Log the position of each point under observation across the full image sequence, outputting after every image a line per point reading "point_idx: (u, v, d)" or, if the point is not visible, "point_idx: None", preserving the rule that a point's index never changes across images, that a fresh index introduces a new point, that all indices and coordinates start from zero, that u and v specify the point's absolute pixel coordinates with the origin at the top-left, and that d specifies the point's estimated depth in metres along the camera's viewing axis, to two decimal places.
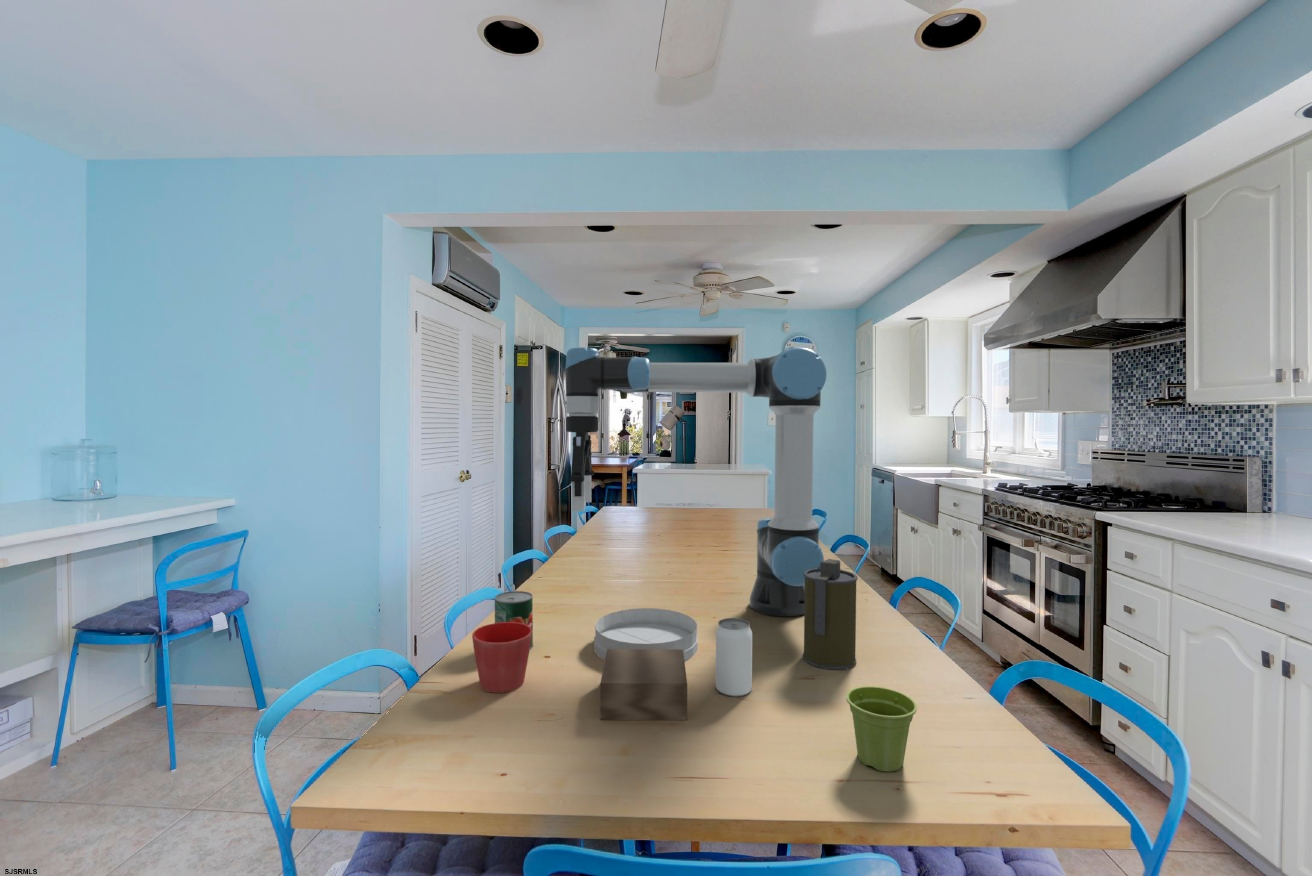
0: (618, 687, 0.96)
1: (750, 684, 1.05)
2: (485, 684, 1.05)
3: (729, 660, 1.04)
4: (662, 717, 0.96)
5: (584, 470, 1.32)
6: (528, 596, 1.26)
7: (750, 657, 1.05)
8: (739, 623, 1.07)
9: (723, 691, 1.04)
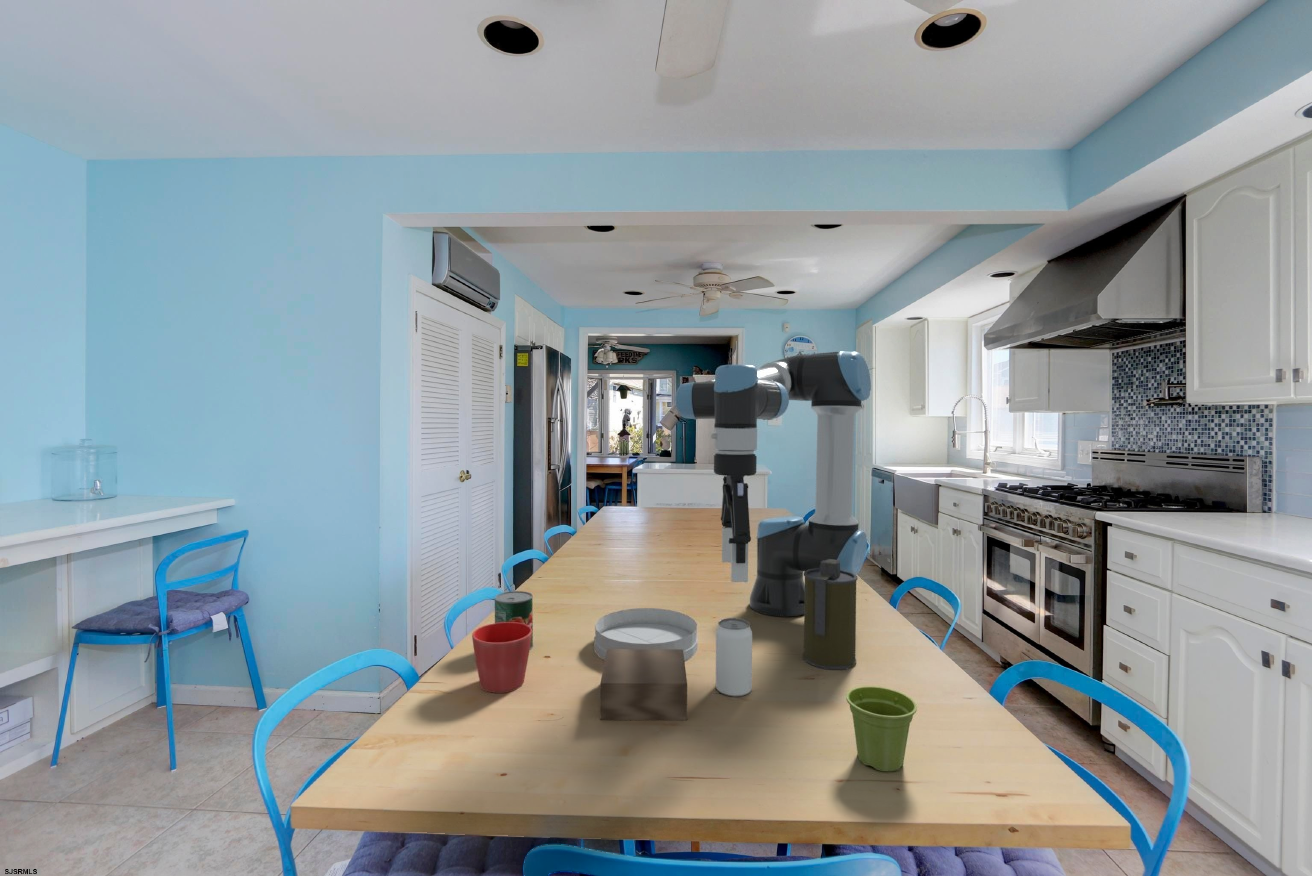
0: (618, 687, 0.96)
1: (750, 684, 1.05)
2: (485, 684, 1.05)
3: (729, 660, 1.04)
4: (662, 717, 0.96)
5: None
6: (528, 596, 1.26)
7: (750, 657, 1.05)
8: (739, 623, 1.07)
9: (723, 691, 1.04)
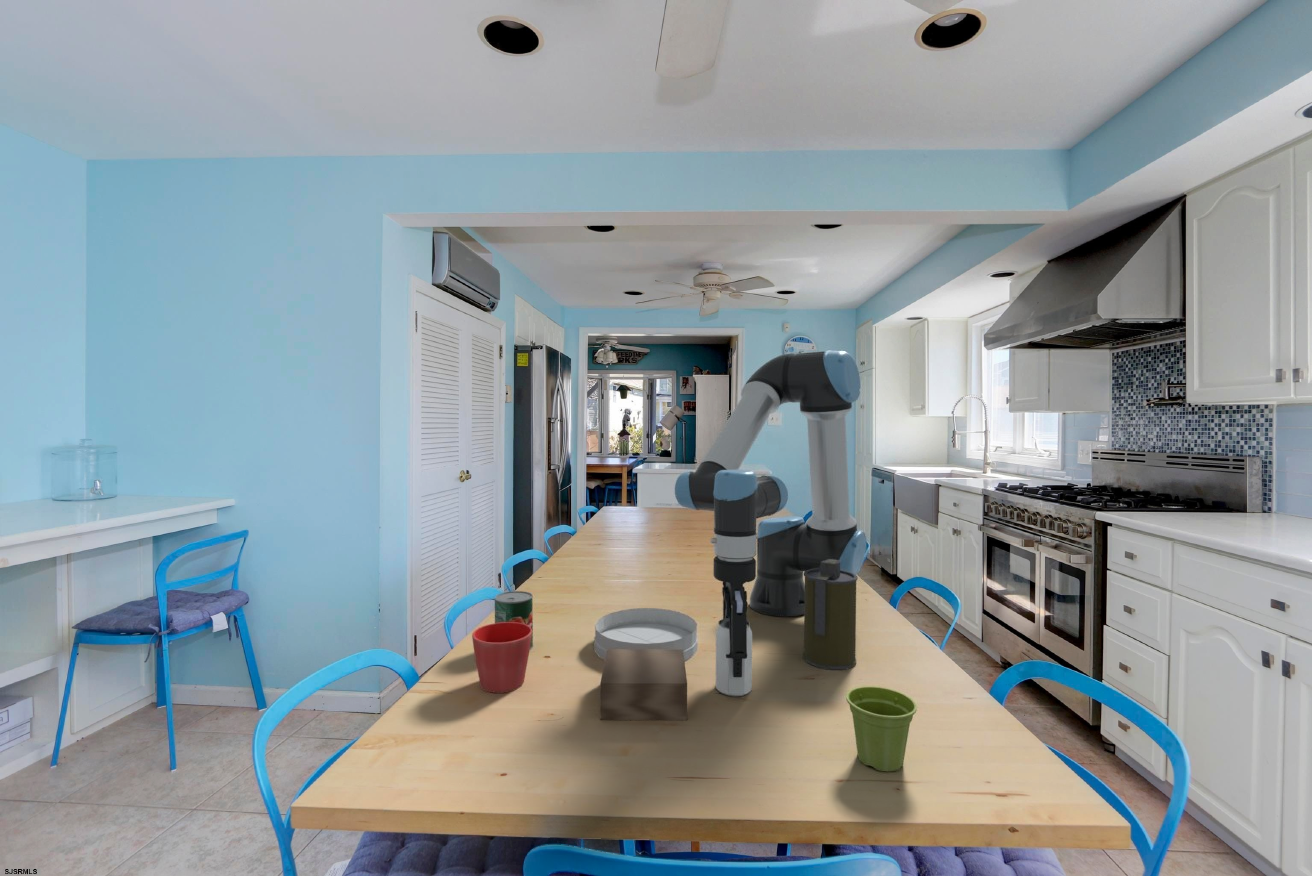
0: (618, 687, 0.96)
1: (750, 684, 1.05)
2: (485, 684, 1.05)
3: None
4: (662, 717, 0.96)
5: None
6: (528, 596, 1.26)
7: (750, 657, 1.05)
8: None
9: (723, 691, 1.04)
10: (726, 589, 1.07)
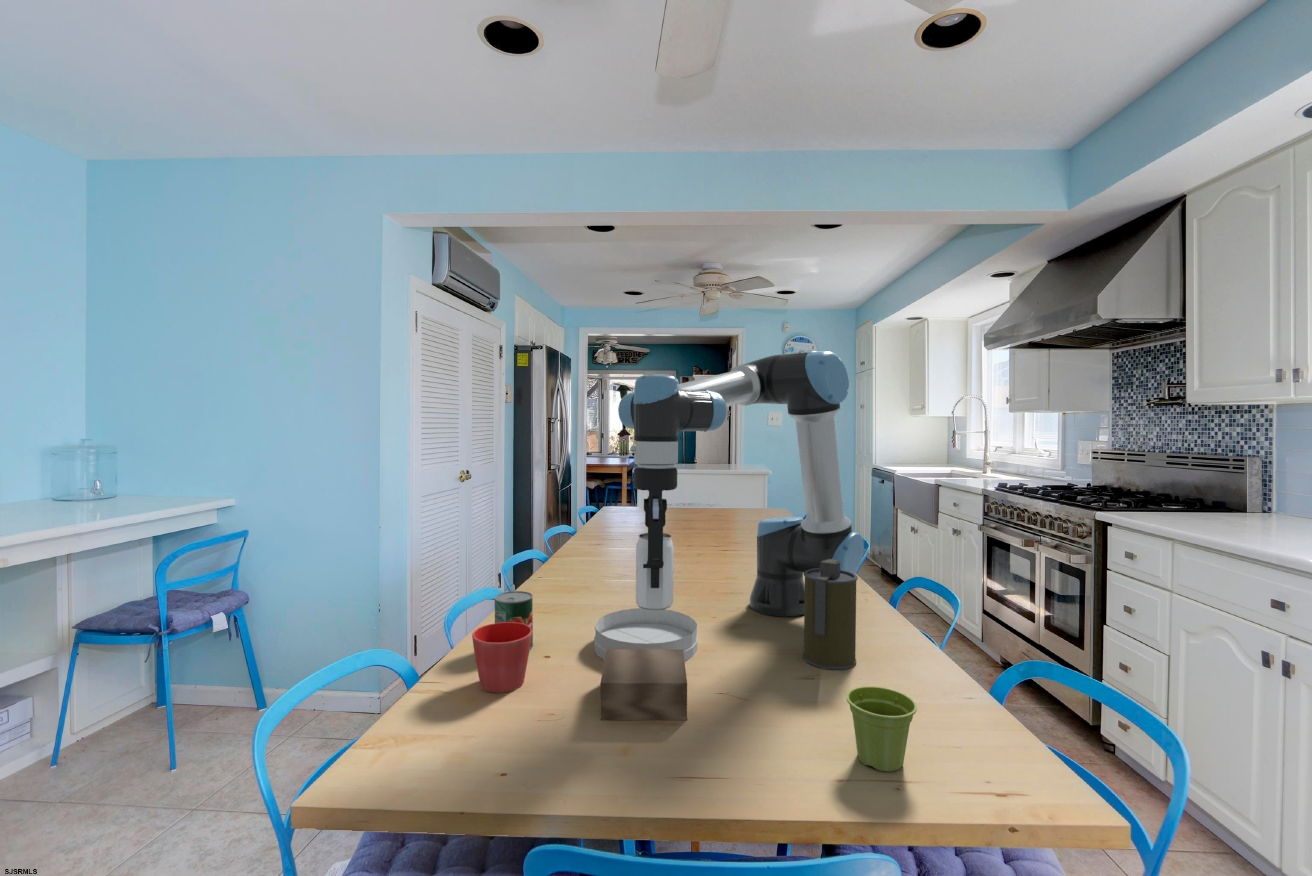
0: (618, 687, 0.96)
1: (670, 598, 1.01)
2: (485, 684, 1.05)
3: None
4: (662, 717, 0.96)
5: None
6: (528, 596, 1.26)
7: (670, 570, 1.00)
8: None
9: (642, 605, 1.00)
10: (647, 501, 1.03)
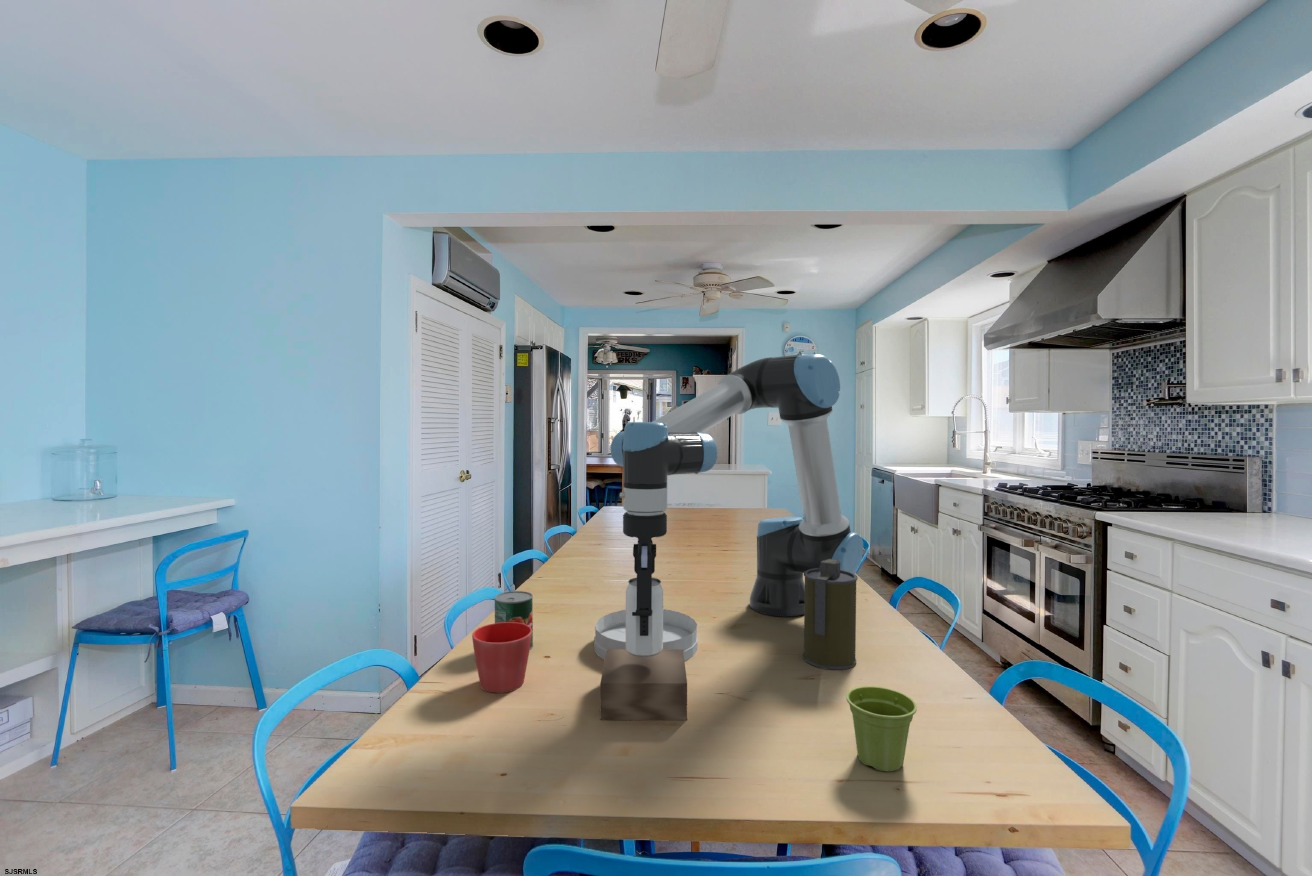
0: (618, 687, 0.96)
1: (660, 644, 1.01)
2: (485, 684, 1.05)
3: None
4: (662, 717, 0.96)
5: None
6: (528, 596, 1.26)
7: (660, 616, 1.00)
8: None
9: (631, 651, 1.00)
10: (637, 546, 1.03)
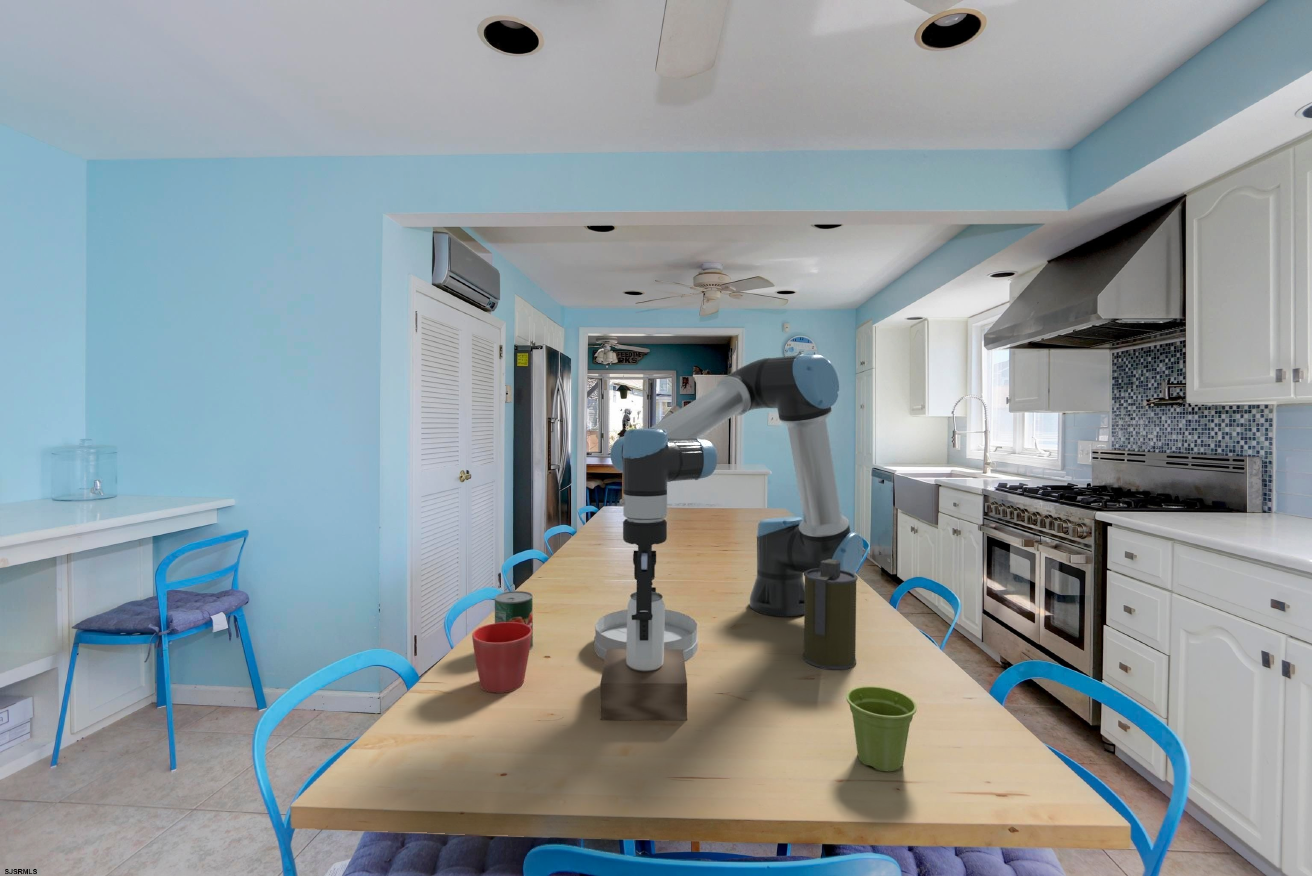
0: (618, 687, 0.96)
1: (661, 659, 1.01)
2: (485, 684, 1.05)
3: None
4: (662, 717, 0.96)
5: None
6: (528, 596, 1.26)
7: (661, 631, 1.01)
8: (652, 596, 1.03)
9: (632, 666, 1.00)
10: (637, 554, 1.03)
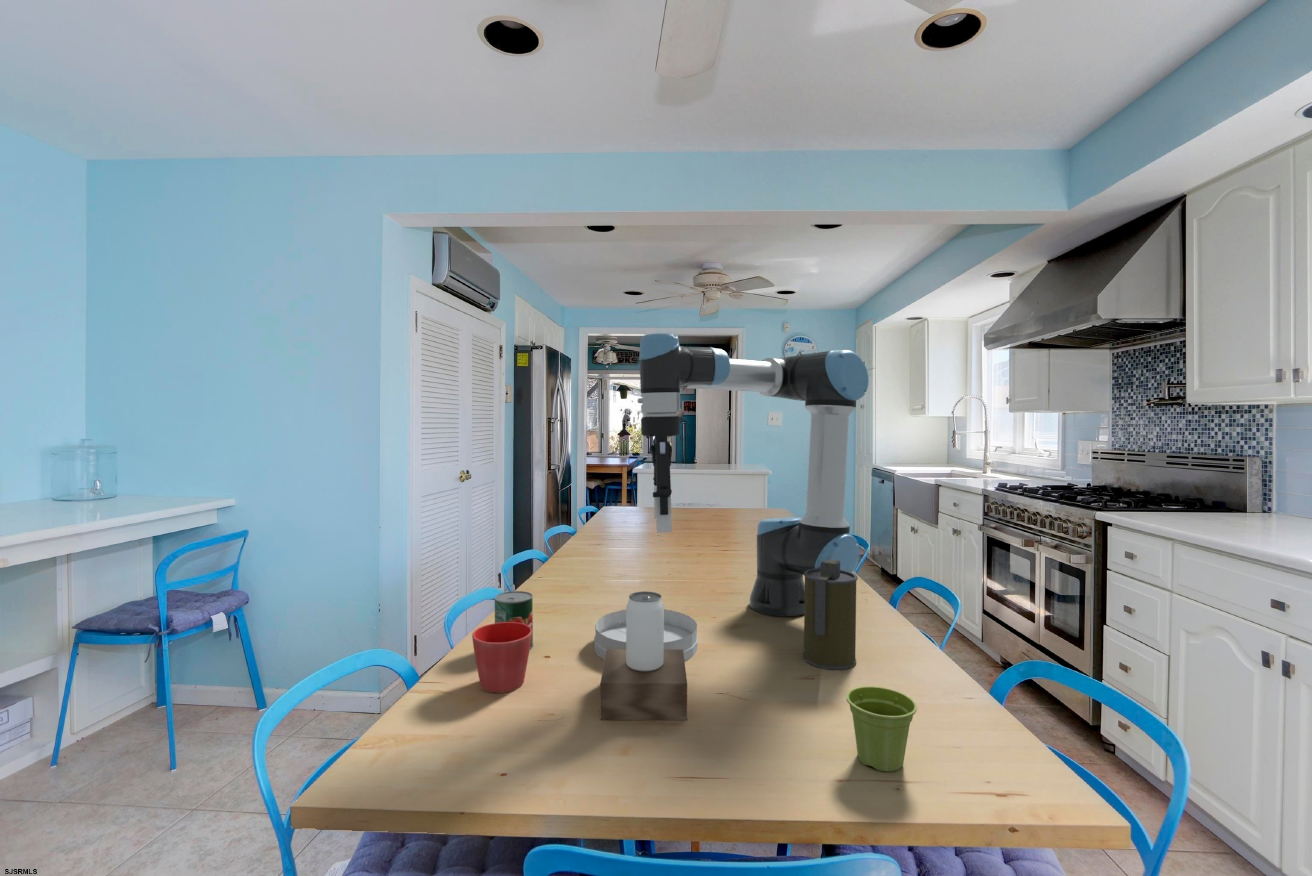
0: (618, 687, 0.96)
1: (660, 659, 1.01)
2: (485, 684, 1.05)
3: (637, 634, 0.99)
4: (662, 717, 0.96)
5: None
6: (528, 596, 1.26)
7: (660, 631, 1.01)
8: (651, 596, 1.03)
9: (631, 666, 1.00)
10: None
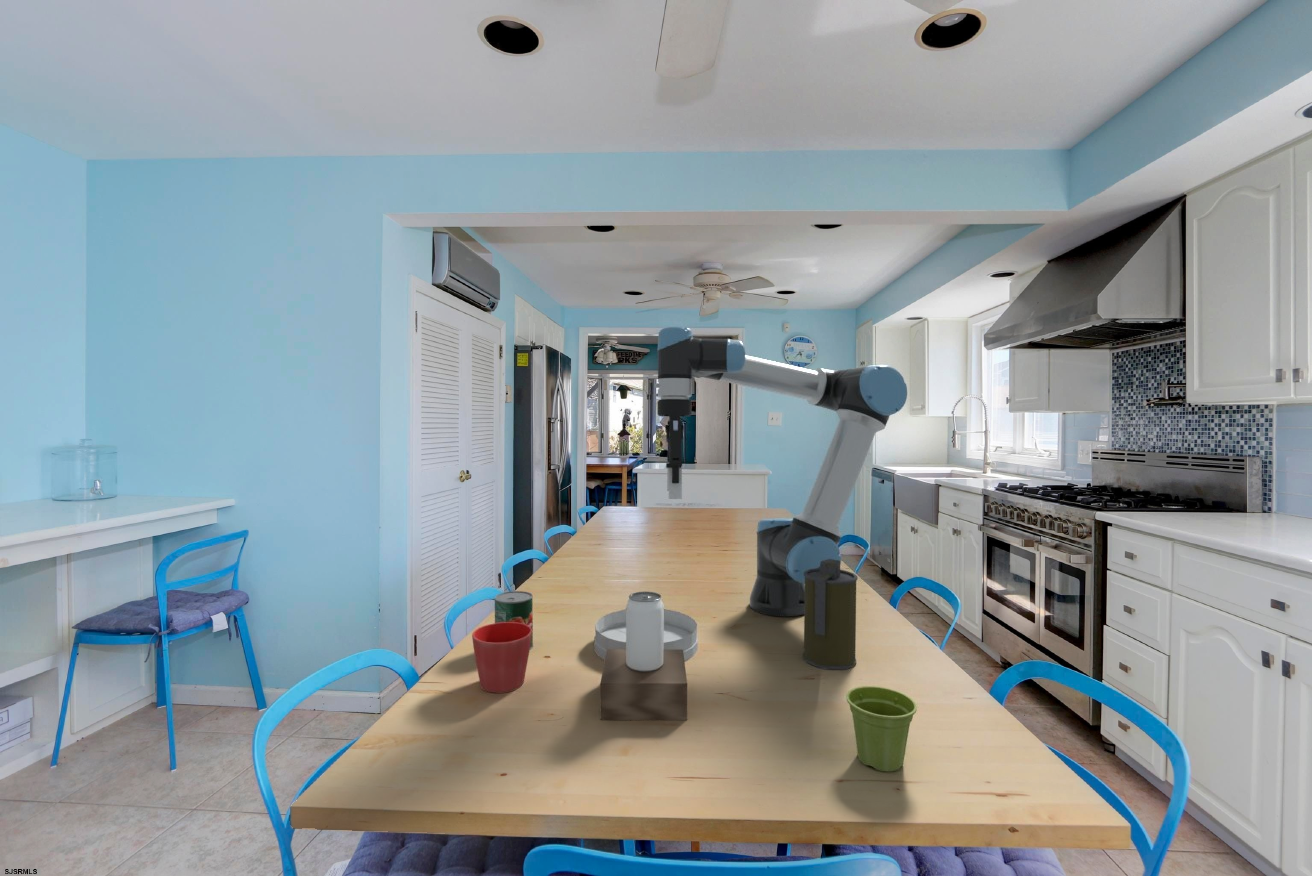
0: (618, 687, 0.96)
1: (660, 659, 1.01)
2: (485, 684, 1.05)
3: (637, 634, 0.99)
4: (662, 717, 0.96)
5: None
6: (528, 596, 1.26)
7: (660, 631, 1.01)
8: (651, 596, 1.03)
9: (631, 666, 1.00)
10: None
